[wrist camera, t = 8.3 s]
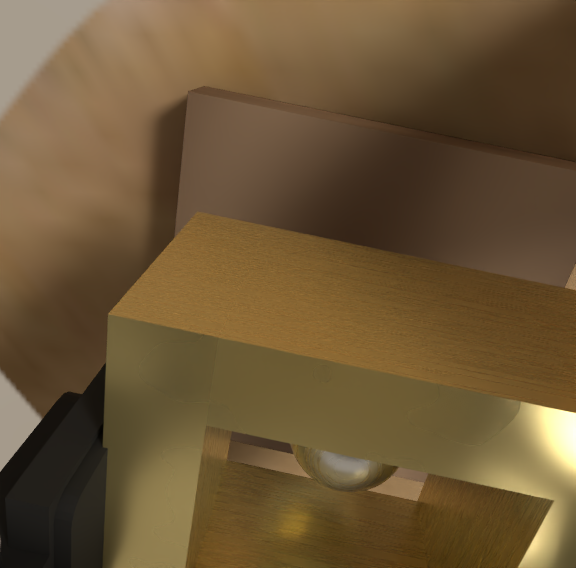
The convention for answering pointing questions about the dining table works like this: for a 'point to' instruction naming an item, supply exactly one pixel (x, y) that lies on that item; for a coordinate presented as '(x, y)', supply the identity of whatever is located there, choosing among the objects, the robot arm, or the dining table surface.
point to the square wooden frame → (336, 407)
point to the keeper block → (375, 205)
